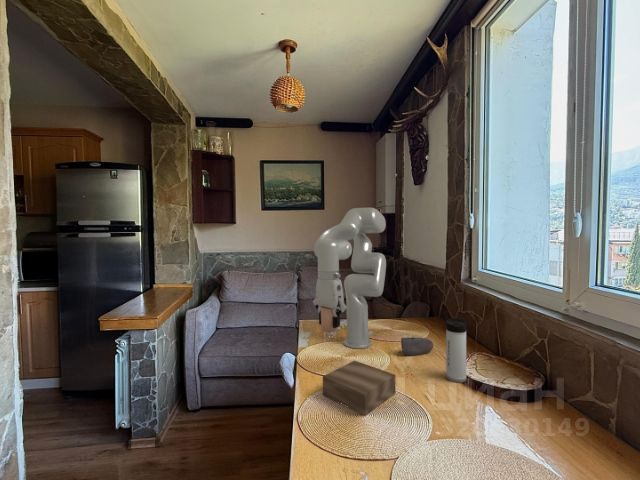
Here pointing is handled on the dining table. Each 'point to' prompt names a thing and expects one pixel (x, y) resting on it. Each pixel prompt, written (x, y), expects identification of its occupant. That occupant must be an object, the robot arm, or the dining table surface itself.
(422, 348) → the dark grey rounded block
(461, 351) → the travel mug
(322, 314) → the terracotta canister
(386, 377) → the walnut riser block
